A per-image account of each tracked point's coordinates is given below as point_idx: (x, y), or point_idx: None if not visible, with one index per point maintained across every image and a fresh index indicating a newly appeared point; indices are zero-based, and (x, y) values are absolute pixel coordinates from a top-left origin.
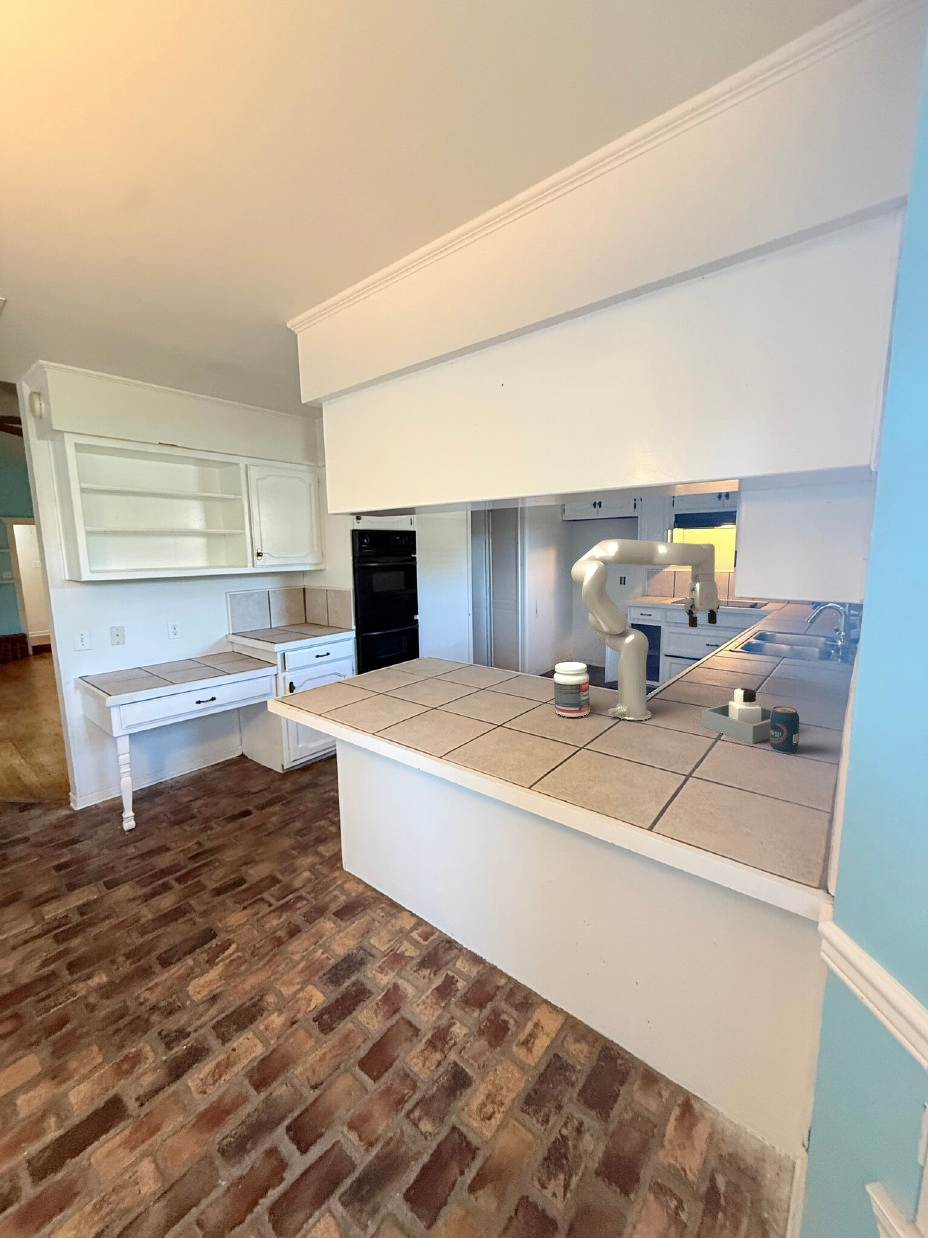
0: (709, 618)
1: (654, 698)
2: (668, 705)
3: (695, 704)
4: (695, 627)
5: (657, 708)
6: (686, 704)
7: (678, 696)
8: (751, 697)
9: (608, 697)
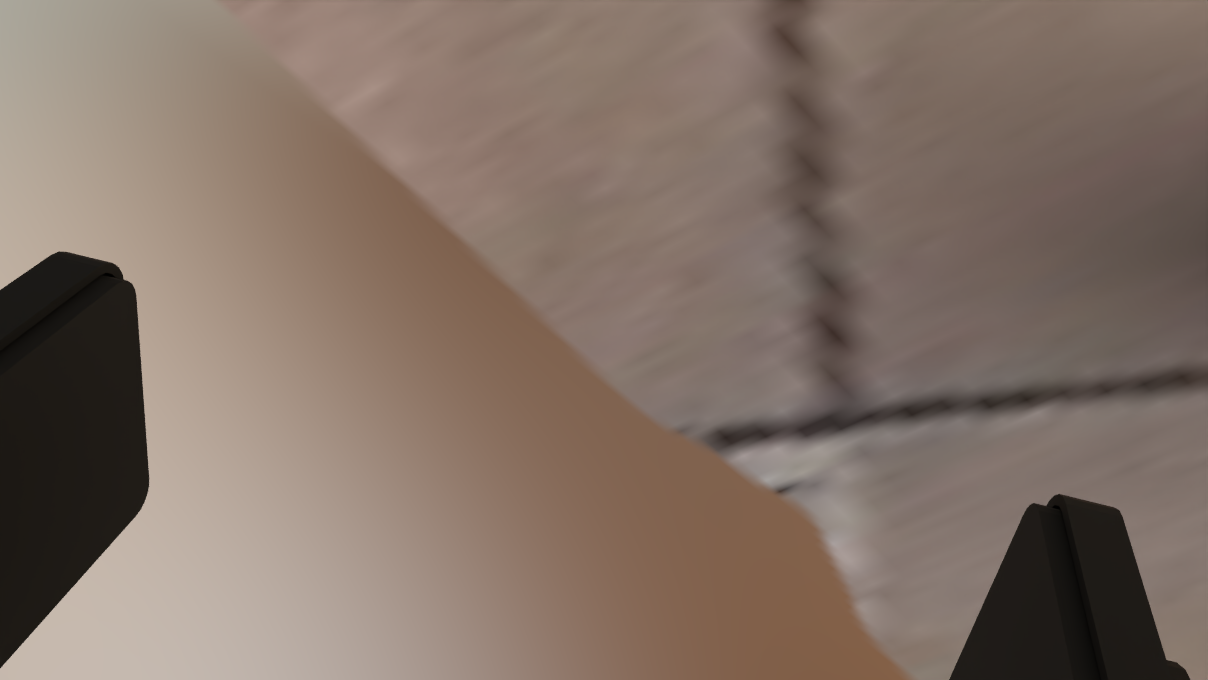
0: (43, 563)
1: (852, 394)
2: (981, 199)
3: (771, 19)
4: (1099, 517)
5: (1148, 229)
6: (832, 86)
7: (643, 268)
8: None
9: None
